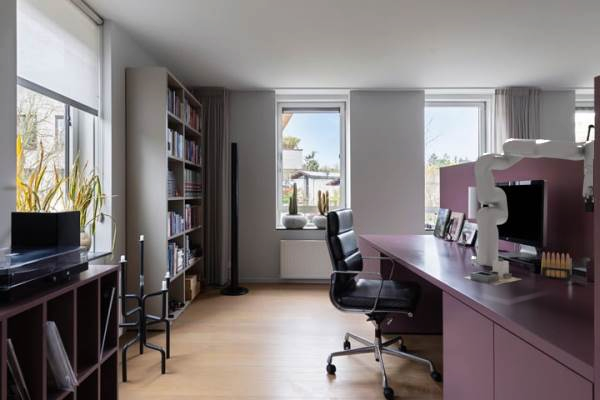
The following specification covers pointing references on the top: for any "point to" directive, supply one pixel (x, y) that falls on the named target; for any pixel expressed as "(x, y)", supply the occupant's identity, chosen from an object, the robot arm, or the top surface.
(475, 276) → the frame
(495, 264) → the plug
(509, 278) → the board
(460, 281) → the top surface
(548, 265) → the ammunition clip
